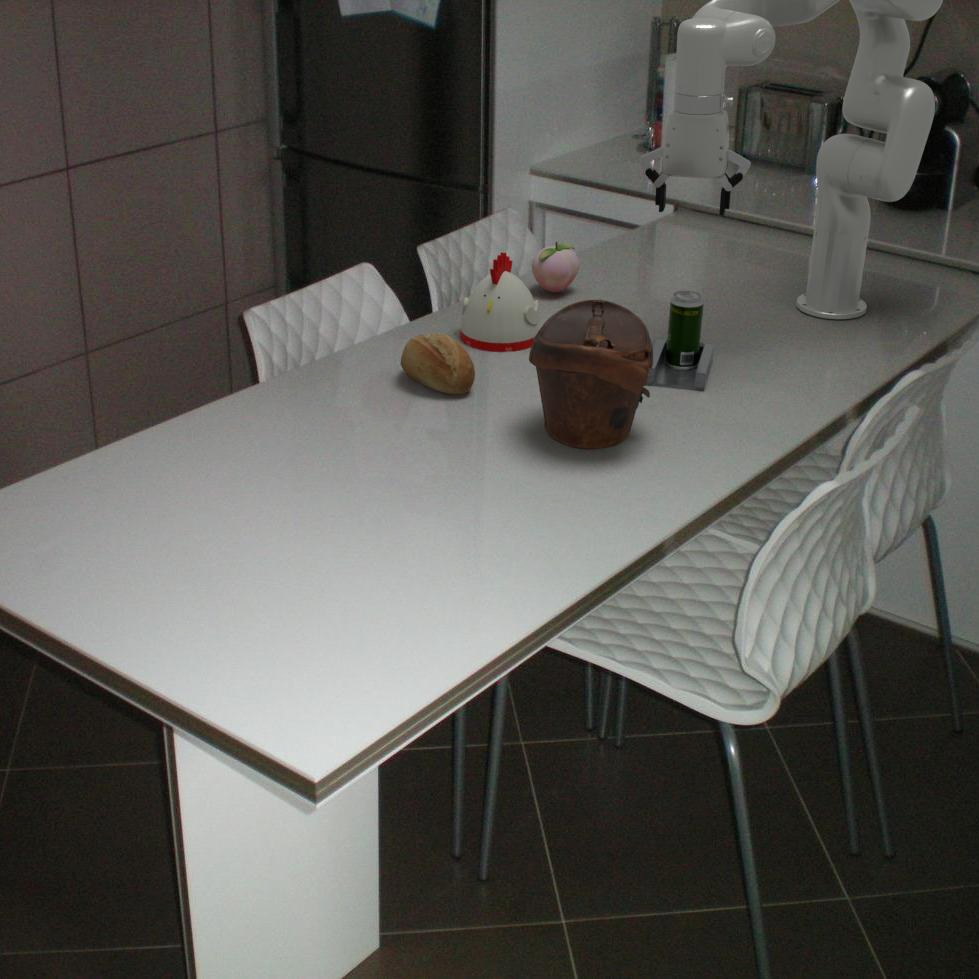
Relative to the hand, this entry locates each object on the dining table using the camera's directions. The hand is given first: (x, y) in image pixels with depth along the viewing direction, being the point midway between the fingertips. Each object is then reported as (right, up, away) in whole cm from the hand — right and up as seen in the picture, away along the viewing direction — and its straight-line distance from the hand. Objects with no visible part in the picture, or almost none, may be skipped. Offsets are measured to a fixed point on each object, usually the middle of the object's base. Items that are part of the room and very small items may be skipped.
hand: (691, 211), depth 220 cm
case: (-18, -36, -16) cm, 43 cm away
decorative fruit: (-20, -8, +39) cm, 45 cm away
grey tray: (-1, -25, +5) cm, 26 cm away
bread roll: (-41, -28, 0) cm, 49 cm away
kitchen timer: (-31, -18, +18) cm, 40 cm away
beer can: (-1, -24, +7) cm, 25 cm away
